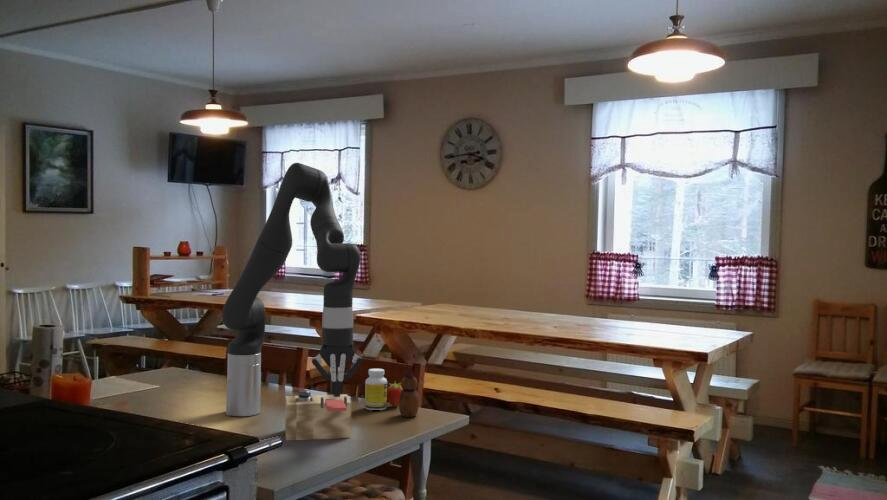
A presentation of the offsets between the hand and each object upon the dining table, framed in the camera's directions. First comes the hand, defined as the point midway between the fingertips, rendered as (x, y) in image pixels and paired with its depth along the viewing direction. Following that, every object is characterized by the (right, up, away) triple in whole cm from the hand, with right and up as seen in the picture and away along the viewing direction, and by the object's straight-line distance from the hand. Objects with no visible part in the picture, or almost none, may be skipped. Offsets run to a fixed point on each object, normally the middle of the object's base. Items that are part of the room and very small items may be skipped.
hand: (336, 396), depth 185 cm
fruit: (+11, -12, +44) cm, 47 cm away
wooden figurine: (+16, -12, +33) cm, 38 cm away
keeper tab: (-1, -3, +2) cm, 3 cm away
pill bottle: (+6, -12, +41) cm, 43 cm away
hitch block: (-6, -12, +11) cm, 17 cm away
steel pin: (-10, -12, +10) cm, 18 cm away
